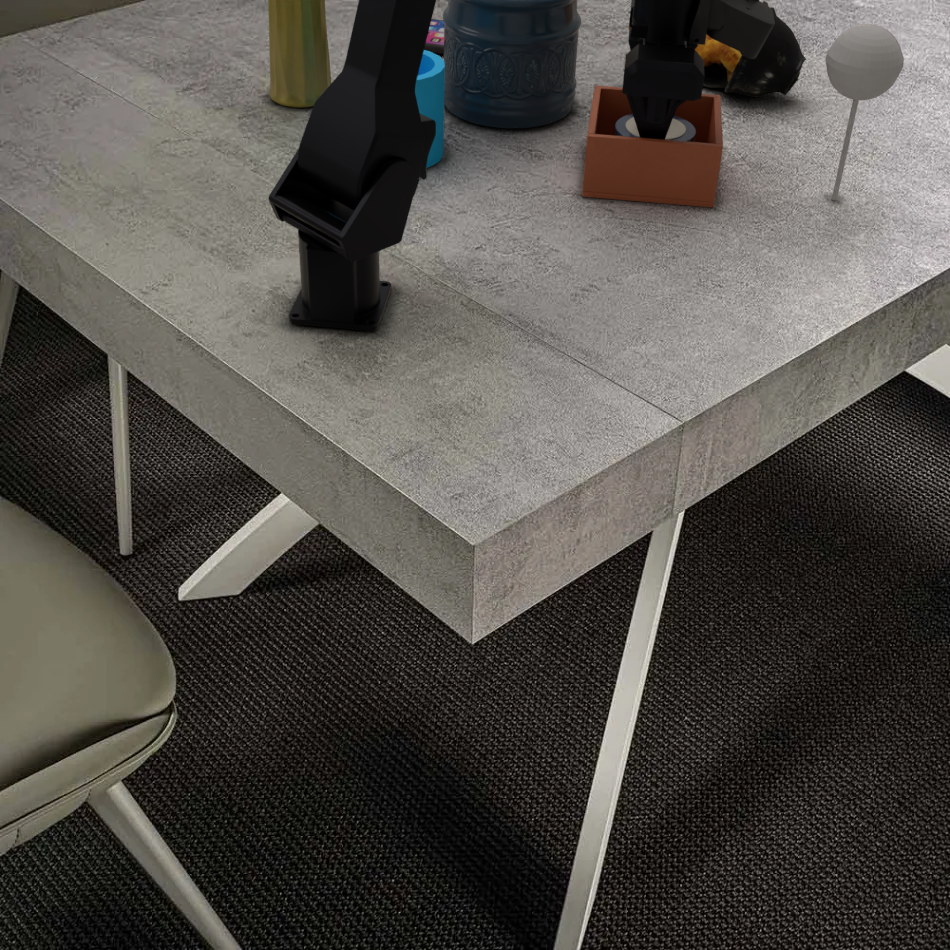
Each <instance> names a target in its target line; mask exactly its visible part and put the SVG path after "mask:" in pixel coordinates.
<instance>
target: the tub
mask: <svg viewBox="0 0 950 950" xmlns="http://www.w3.org/2000/svg"><path fill="white" fill-rule="evenodd" d="M622 88H623V86H621V87H619V86H608V85H596V84H595V85H594V87H593V95H592V102H591V107H590V115H589V121H588V126H587V127H588V128H587V133H586V134H587V135H586V144H585V145H586V146H585V157H584V166H583V167H584V169H583V178H582V179H583V181H582V192H581V197H583V198H593V199H594V198H595V199H608V200H620V201H631V202H643V203H652V204H654V203H655V204H667V205H676V206H689V207H690V206H691V207H701V208H711V209H712V208H715V202H716V194H717V188H718V181H719V175H720V168H721V162H722V157H723V150H724V140H723V139H724V138H723V137H724V136H723V120H722V119H723V117H722V98H721V95H720V94H713V93H712V94H711V93H702V95H701V99H699V100H695V101H688V100H687V101H685V102H684V103H682V104H681V105H679V106H678V107H677V109H676V112H675V114H674V116H677V117H680V118H683V119H685V120H687V121H688V122H690V123H691V124H692V125H693V126H694V127H695V129H696V136H695V142H688V141H676V140H663V139H651V138H638V137H626V136H614V130H615V124H616V122H617V120H619V119H620V118H621V117H623V116H626V115H629V114H632V111H631V108H630V105H629V102H628V99H627V96H626V94H624V93H622Z"/></svg>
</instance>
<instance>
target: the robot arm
mask: <svg viewBox="0 0 950 950" xmlns="http://www.w3.org/2000/svg"><path fill="white" fill-rule="evenodd" d="M436 2H437V0H358V2H357V8H356V12H355V17H354V21H353V24H352V29H351V33H350V37H349V38H350V39H349V42H348V48H347V53H346V57H345V61H344V65H343V68H342V70H341V71H340V72H339V74H338V75H337V76H336V77H335V78H334V79H333V81H331V84H330V85H329V86H328V88H327V89H326V90H325V91H324V92H323V93H322V94H321V96H320V97H319V98H318V99H317V100H316V102H315V104H314V106H313V107H312V109H311V112H310V114H309V118H308V121H307V123H306V126H305V129H304V132H303V133H302V136H301V139H300V143H299V146H298V148H297V151H296V152H295V153H294V155H293V157H292V158H291V160H290V162H289V163H288V165H287V166H286V168H285V170H284V171H283V173H282V174H281V176H280V177H279V179H278V181H277V182H276V184H275V186H274V187H273V189H272V190H271V192H270V193H269V195H268V202H269V205H270V206H271V209H272V212H273V214H274V215H275V218H276V219H277V220H278V221H281V222H284V223H286V224H287V225H290V226H291V227H293V228H295V229H296V230H297V235H298V239H297V240H298V252H299V270H300V285H301V287H300V290H299V292H298V295H297V297H296V298H295V301H294V303H293V305H292V308H291V310H290V312H289V314H288V322H289V323H290V324H292V325H299V326H300V325H302V326H312V327H321V328H333V329H341V330H342V329H343V330H354V331H365V332H374V331H376V330H378V329H379V326H380V323H381V321H382V318H383V315H384V312H385V310H386V307H387V305H388V302H389V298H390V295H391V292H392V283H391V282H390V281H386V280H381V279H380V278H381V276H380V271H381V269H380V252H382V251H384V250H386V249H387V248H390V247H394V246H395V245H398V244H400V243H401V242H402V240H403V237H404V232H405V229H406V225H407V222H408V218H409V214H410V210H411V207H412V202H413V199H414V197H415V194H416V191H417V190H418V186H419V184H420V183H419V182H420V179H421V180H423V181H425V180H426V179H427V178H428V174H427V173H428V172H427V171H428V170H427V169H428V168H426V166H427V160H428V155H429V152H430V149H431V146H432V144H433V141H434V138H435V136H436V122H435V121H434V120H433V119H430V118H428V117H426V116H424V115H422V114H420V113H419V108H418V104H417V99H416V95H415V86H416V80H417V76H418V72H419V68H420V64H421V60H422V56H423V52H424V48H425V44H426V40H427V36H428V32H429V27H430V23H431V19H433V15H434V11H435V7H436ZM628 21H629V22H628V27H632V28H631V30H630V31H629V30H628V40H627V41H628V45H629V50H630V51H628V52H626V54H625V60H624V70H623V79H622V93H624V94H626V96H627V99H628V102H629V105H630V108H631V111H632V114H633V117H634V120H635V123H636V126H637V129H638V132H639V136H640V138H651V139H663V140H665V138H666V135H667V133H668V130H669V127H670V125H671V122H672V119H673V117H674V114H675V112H676V109H677V107H678V106H679V105H681V104H682V103H684V102H685V101H687V100H688V101H695V100H699V99H701V95H702V94H703V87H704V86H703V81H704V60H703V59H702V58H701V56H700V55H699V54H698V53H697V51H696V50H695V49H696V48H697V46H698V44H700V45H705V41H706V34H707V35H708V36H709V37H711V38H712V39H714V40H716V41H718V42H720V43H723V44H725V45H727V46H729V47H731V48H734V49H736V50H738V51H740V53H741V55H743V56H745V57H747V58H751V59H755V58H756V57H757V55H758V53H759V51H760V50H761V48H762V46H763V44H764V42H765V41H766V39H767V37H768V35H769V33H770V32H771V30H772V28H773V26H774V24H775V21H774V14H773V10H772V9H771V6H769V3H768V2H767V1H765V0H763V1H760V0H631V3H630V12H629V20H628Z"/></svg>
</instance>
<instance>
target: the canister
mask: <svg viewBox="0 0 950 950" xmlns="http://www.w3.org/2000/svg"><path fill="white" fill-rule="evenodd" d="M442 20H443V21H444V54H443V60H444V64H445V83H444V107H446V109H447V110H448V111H449V112H450V113H451V114H452V115H454V116H455V117H457V118H459V119H462V120H464V121H466V122H469V123H472V124H476V125H480V126H483V127H490V128H497V129H529V128H536V127H541V126H546V125H550V124H553V123H555V122H558V121H560V120H561V119H563V118H565V117H566V116H567V115H569V113H570V112H571V111H572V107H573V102H574V100H575V98H576V93H577V90H576V89H577V79H576V72H577V71H576V70H577V57H578V44H579V34H580V33H579V32H580V28H581V24H582V17H581V15H580V13H579V11H578V0H447V6H446V7H445V8H444V10H443V12H442Z"/></svg>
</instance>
